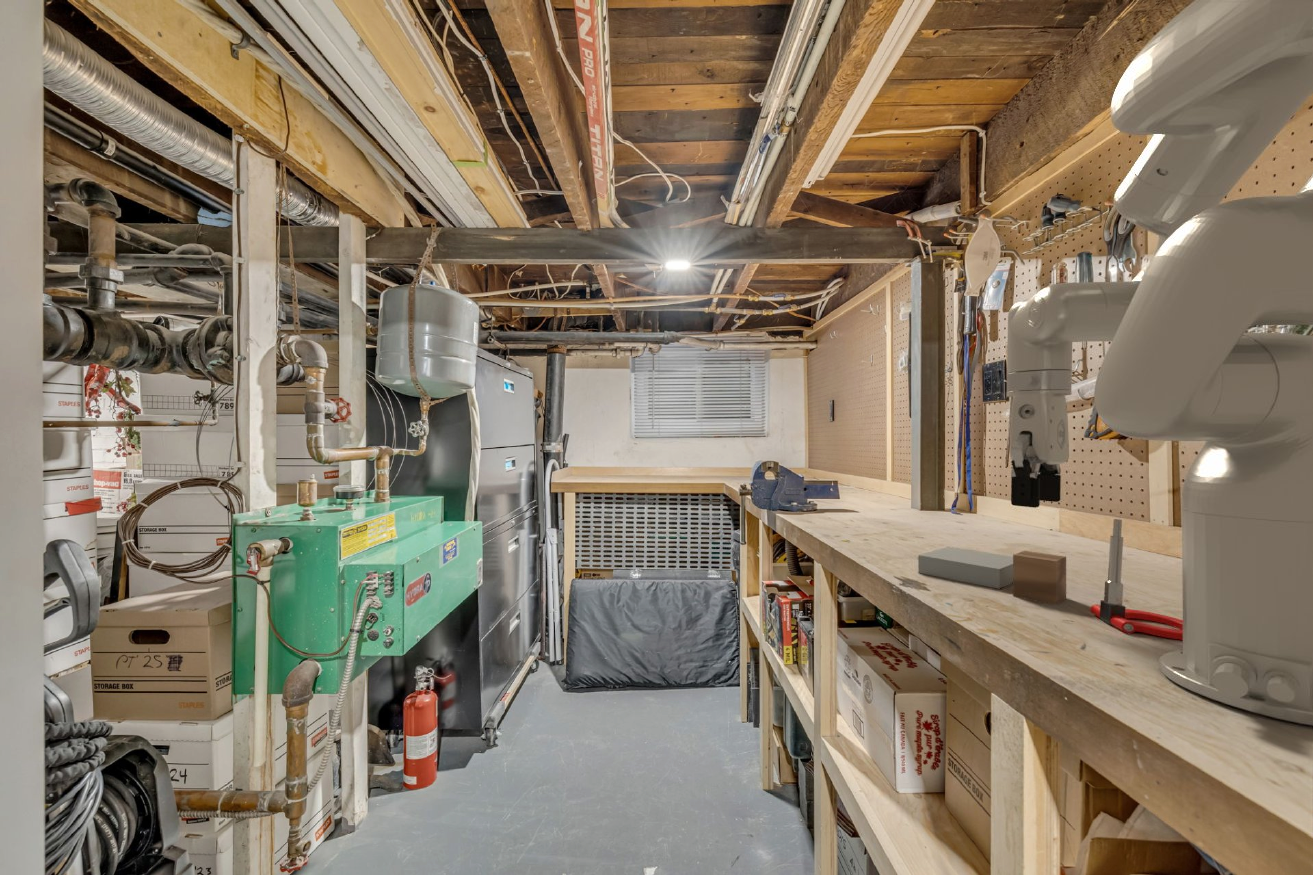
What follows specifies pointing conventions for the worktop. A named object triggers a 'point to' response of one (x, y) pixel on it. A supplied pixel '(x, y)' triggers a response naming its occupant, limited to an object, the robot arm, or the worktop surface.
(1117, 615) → the red and grey piece
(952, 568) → the base slab
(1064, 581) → the walnut block
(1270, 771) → the worktop surface
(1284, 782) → the worktop surface
